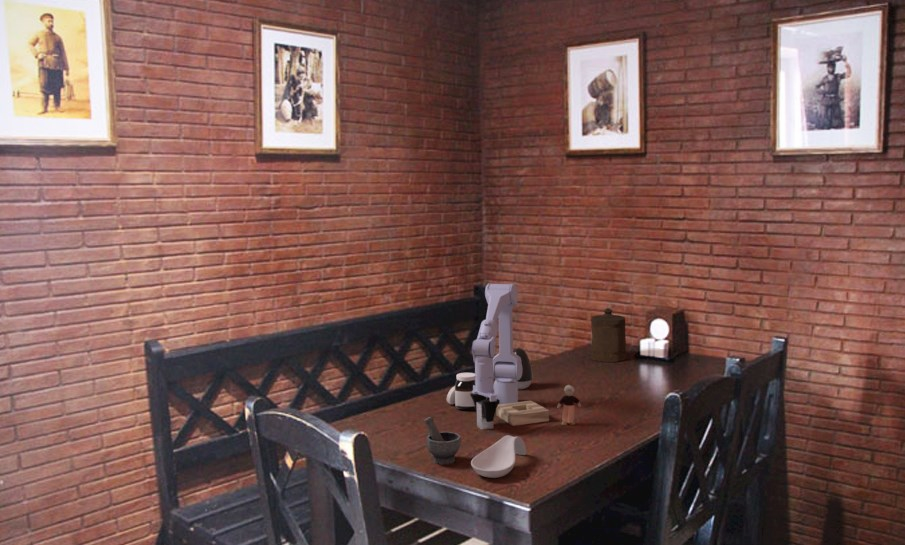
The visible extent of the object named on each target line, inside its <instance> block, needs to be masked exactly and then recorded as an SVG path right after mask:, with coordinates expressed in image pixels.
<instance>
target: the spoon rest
mask: <svg viewBox="0 0 905 545" xmlns="http://www.w3.org/2000/svg"><path fill="white" fill-rule="evenodd" d="M516 455H519V456H526V455H527V447H526V444H525V442H524V440H523V439H522V438H521V437H520V436H512V435H510V434H507V435H504V436H502V437H501V438H500V439H499V440H497V441H496V442H495V443H493V444H492V445H490V446H489V447H487V448H486V449H484V450H483V451H481V452H480V453H478V454H476V455H475V456H474V457H473V458H472V460H471V461H470V465H471V467H472V469H473V470H474V472H476V473H477V474H478V475H479V476H482V477H485V478H490V479H496V478H502V477H504V476H506V475H508V474H509V473H510V472H511V471H512V470H513V468H514V466H515V463H516V460H517V459H516Z"/></svg>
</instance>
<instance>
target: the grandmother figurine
mask: <svg viewBox="0 0 905 545" xmlns="http://www.w3.org/2000/svg"><path fill="white" fill-rule="evenodd" d="M563 392H564V393H565V395H564V396H562V397H561V399H560V400H559V401H558V403H557V406H556V408H557V409H560V408H561V407H562V405H563V407H562V416H561V417H562V418H561V419H562V421H561V424H560V425H561V426H567V425H571V426H574V425H576V422H575V404H576V405H577V407H579V408H581V407H582V404H581V401H580V399H579V398H578V397H576V396H574V393H575V388H574V386H572V385H570V384H567V385H565V386H564V388H563Z"/></svg>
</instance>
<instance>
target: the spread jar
mask: <svg viewBox="0 0 905 545" xmlns="http://www.w3.org/2000/svg"><path fill="white" fill-rule="evenodd" d="M473 385H475V372H460V373H457V374H456V381H455V385H454V386H452V387H451V388H450V389H449V391H448V393H447V395H446V402H447V403H448V404H450V405H455V408H456V409H458V410H460V411H473V410H476V409H475V405H474V402H473V400H472V398H471V396H470V394H471V393H472V391H473Z"/></svg>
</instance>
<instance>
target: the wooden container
mask: <svg viewBox="0 0 905 545" xmlns="http://www.w3.org/2000/svg"><path fill="white" fill-rule="evenodd" d="M590 319H591V320H590V329H591V330H590V358H591V360H593V361H596V362H600V363H601V362H602V363H617V362H623V361H625V360H627V359H626V358H627V351H626V350H627V342H626V341H627V340H626V338H627V337H626V317H625V316H622V315H617V314H615V315H614V314H613V309H612V308H605V309H604V314H597V315H592V316H591V317H590Z"/></svg>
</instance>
